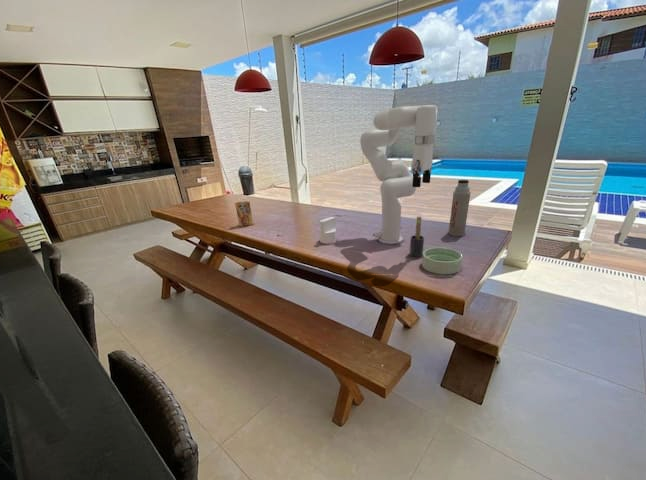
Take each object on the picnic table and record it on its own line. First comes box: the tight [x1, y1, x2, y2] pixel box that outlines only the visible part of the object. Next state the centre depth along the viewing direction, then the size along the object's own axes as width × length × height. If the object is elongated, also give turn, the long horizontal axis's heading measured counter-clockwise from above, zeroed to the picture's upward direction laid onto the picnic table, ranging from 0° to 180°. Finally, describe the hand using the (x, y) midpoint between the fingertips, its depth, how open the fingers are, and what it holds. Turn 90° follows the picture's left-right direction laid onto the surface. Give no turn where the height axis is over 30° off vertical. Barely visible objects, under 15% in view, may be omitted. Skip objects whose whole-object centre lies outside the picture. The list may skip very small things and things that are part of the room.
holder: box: [409, 234, 425, 258], centre depth 140 cm, size 6×6×9 cm
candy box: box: [234, 199, 254, 227], centre depth 197 cm, size 9×4×15 cm, turn 103°
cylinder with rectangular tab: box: [318, 216, 338, 245], centre depth 163 cm, size 9×9×12 cm
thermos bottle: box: [448, 179, 471, 237], centre depth 158 cm, size 8×8×28 cm
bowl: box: [421, 246, 464, 275], centre depth 128 cm, size 15×15×6 cm
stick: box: [415, 216, 422, 239], centre depth 137 cm, size 2×2×18 cm
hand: (421, 184), depth 128 cm, fingers open, 9 cm apart
